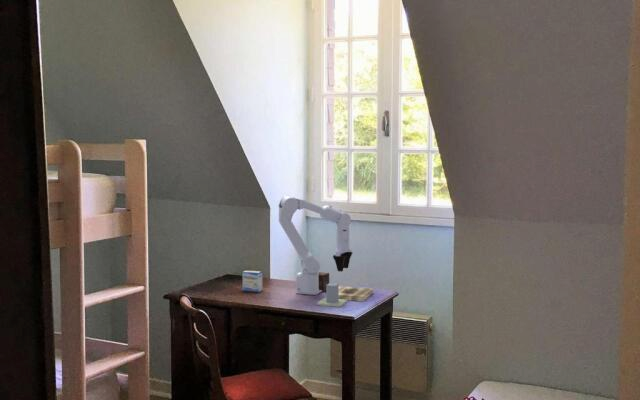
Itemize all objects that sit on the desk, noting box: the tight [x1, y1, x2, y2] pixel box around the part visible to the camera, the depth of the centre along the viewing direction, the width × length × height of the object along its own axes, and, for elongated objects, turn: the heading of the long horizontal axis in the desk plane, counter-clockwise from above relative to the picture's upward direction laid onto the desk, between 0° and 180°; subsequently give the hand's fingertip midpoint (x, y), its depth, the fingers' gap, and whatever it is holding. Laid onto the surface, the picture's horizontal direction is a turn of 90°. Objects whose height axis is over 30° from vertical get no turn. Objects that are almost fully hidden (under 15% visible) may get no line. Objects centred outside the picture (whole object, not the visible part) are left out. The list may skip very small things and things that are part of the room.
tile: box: [316, 297, 349, 308], centre depth 293 cm, size 10×10×1 cm
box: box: [319, 271, 330, 292], centre depth 318 cm, size 6×6×7 cm
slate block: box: [325, 282, 340, 303], centre depth 292 cm, size 4×4×7 cm
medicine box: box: [242, 270, 263, 293], centre depth 316 cm, size 8×4×9 cm, turn 73°
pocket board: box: [339, 285, 374, 302], centre depth 306 cm, size 16×16×2 cm
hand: (342, 269), depth 314 cm, fingers open, 7 cm apart
